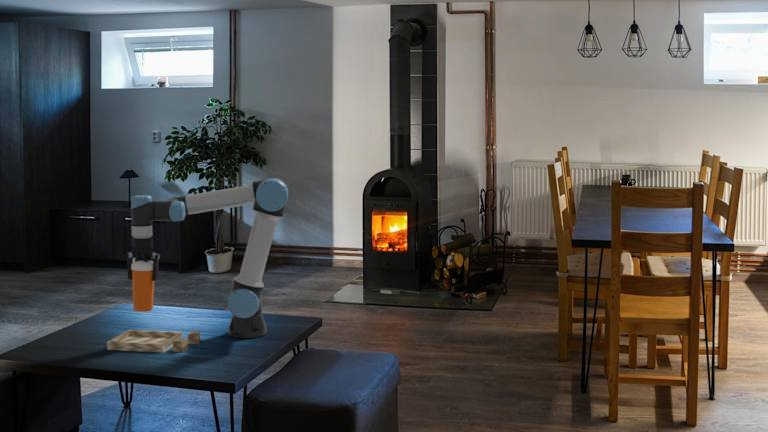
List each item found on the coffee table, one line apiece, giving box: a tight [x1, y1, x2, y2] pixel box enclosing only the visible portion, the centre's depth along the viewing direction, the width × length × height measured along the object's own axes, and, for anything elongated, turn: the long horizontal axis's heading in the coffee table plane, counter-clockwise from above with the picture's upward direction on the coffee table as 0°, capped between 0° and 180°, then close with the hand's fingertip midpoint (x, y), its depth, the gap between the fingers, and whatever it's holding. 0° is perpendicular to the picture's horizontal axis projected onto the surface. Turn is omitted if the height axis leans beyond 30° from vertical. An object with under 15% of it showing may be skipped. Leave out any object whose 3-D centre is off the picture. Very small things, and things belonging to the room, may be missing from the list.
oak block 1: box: [172, 337, 189, 353], centre depth 314 cm, size 4×4×4 cm
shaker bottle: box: [131, 257, 155, 313], centre depth 319 cm, size 9×9×20 cm
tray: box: [106, 329, 183, 353], centre depth 321 cm, size 22×18×3 cm
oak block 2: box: [187, 330, 201, 345], centre depth 324 cm, size 4×4×4 cm
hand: (143, 298), depth 319 cm, fingers open, 4 cm apart
